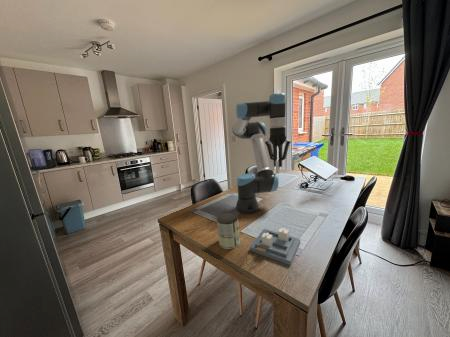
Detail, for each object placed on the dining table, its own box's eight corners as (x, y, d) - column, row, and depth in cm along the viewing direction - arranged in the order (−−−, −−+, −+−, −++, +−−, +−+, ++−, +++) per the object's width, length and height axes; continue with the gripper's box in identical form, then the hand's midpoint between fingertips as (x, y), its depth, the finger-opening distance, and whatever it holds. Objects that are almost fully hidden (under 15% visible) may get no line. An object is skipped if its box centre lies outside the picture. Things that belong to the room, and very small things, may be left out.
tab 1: (261, 245, 82) (261, 234, 80) (264, 242, 84) (264, 231, 82) (270, 248, 79) (270, 237, 78) (272, 244, 82) (272, 233, 80)
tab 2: (278, 240, 84) (278, 229, 83) (280, 237, 86) (280, 226, 85) (287, 243, 82) (287, 232, 80) (289, 239, 84) (289, 228, 83)
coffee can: (218, 237, 94) (216, 212, 91) (238, 235, 94) (236, 210, 91) (218, 250, 84) (216, 223, 81) (241, 248, 84) (239, 221, 81)
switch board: (249, 250, 82) (249, 244, 81) (263, 232, 95) (263, 226, 94) (290, 265, 72) (290, 258, 71) (300, 242, 85) (300, 236, 84)
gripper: (262, 128, 91) (263, 173, 96) (288, 126, 83) (288, 175, 89) (267, 127, 97) (268, 170, 102) (293, 125, 89) (292, 171, 95)
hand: (278, 172), depth 96 cm, fingers closed
